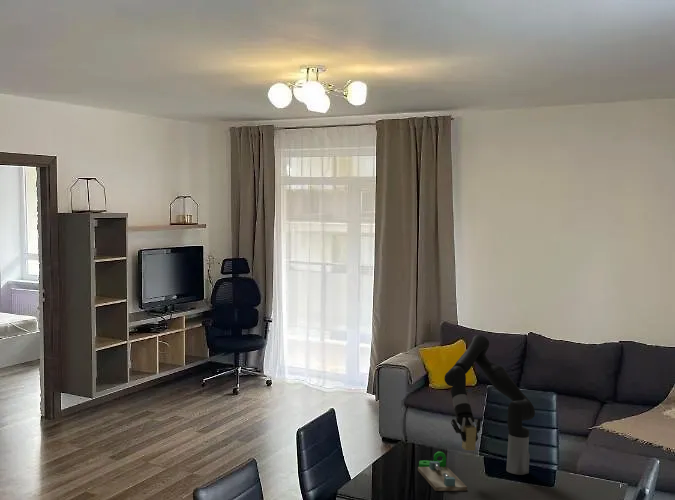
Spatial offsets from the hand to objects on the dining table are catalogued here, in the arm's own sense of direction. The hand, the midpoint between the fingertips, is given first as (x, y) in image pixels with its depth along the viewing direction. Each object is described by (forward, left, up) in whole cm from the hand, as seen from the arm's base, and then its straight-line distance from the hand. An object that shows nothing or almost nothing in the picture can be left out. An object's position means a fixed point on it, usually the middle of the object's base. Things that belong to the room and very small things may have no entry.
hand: (470, 440), depth 298 cm
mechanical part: (+10, -19, -18) cm, 28 cm away
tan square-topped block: (0, -2, -4) cm, 5 cm away
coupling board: (+12, -2, -18) cm, 22 cm away
